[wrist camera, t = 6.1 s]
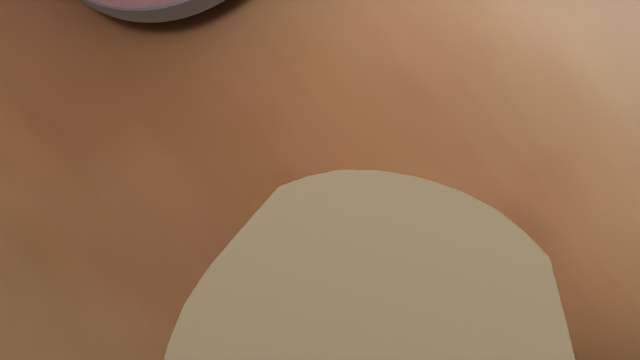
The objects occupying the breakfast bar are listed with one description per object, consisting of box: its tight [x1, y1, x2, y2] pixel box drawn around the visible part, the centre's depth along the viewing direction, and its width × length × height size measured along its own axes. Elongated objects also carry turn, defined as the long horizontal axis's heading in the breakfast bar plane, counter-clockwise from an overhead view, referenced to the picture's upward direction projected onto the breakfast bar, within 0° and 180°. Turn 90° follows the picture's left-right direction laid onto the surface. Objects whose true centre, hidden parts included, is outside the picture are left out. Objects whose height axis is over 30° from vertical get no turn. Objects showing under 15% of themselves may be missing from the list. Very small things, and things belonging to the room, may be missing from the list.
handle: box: [163, 170, 575, 360], centre depth 13 cm, size 5×6×15 cm
